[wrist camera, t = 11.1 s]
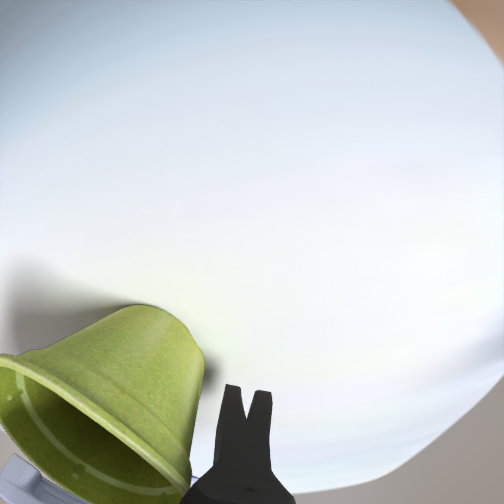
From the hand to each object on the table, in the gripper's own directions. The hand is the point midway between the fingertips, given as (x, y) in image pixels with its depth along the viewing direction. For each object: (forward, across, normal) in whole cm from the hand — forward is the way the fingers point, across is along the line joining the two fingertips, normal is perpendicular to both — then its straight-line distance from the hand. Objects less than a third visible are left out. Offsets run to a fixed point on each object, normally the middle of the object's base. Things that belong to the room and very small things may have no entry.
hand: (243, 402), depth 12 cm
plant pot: (+3, +5, 0) cm, 6 cm away
